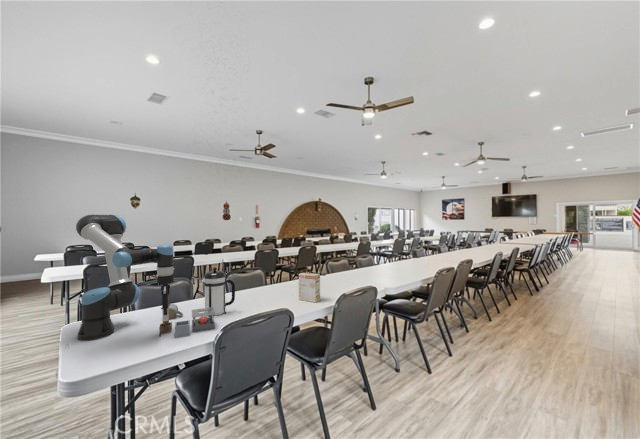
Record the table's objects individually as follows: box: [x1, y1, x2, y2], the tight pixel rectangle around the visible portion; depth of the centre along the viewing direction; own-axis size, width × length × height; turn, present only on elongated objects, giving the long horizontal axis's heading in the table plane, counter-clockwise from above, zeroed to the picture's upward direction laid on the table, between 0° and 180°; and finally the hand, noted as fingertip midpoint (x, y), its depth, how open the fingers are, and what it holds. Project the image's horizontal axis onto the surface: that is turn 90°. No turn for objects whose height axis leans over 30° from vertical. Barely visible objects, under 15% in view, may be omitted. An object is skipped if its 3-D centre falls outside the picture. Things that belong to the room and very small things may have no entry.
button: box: [198, 316, 208, 323], centre depth 156 cm, size 4×4×5 cm
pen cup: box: [174, 320, 191, 338], centre depth 146 cm, size 7×7×7 cm
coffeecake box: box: [298, 272, 321, 304], centre depth 211 cm, size 15×7×20 cm, turn 58°
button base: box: [191, 307, 216, 333], centre depth 156 cm, size 11×11×10 cm
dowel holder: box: [159, 321, 173, 337], centre depth 150 cm, size 5×5×5 cm
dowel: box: [162, 294, 170, 326], centre depth 150 cm, size 3×3×20 cm
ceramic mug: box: [169, 303, 184, 320], centre depth 176 cm, size 11×8×8 cm
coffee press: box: [201, 266, 236, 318], centre depth 180 cm, size 17×16×30 cm
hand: (165, 319), depth 150 cm, fingers closed on dowel, 3 cm apart
